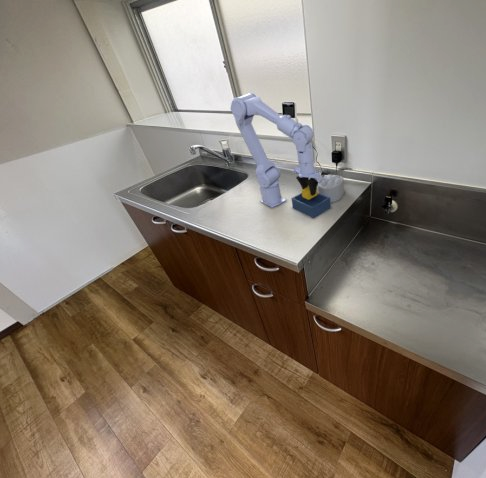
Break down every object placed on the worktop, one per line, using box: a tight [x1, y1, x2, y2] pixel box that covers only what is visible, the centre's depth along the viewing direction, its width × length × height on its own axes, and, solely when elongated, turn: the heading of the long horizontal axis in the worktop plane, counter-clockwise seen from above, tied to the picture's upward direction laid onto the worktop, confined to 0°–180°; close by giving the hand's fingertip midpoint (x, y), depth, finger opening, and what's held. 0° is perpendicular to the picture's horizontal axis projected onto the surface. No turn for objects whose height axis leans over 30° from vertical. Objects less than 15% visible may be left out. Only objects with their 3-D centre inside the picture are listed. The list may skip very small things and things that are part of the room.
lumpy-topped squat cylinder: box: [317, 174, 345, 204], centre depth 111 cm, size 10×13×9 cm
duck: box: [300, 186, 319, 200], centre depth 102 cm, size 4×6×6 cm
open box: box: [291, 192, 332, 219], centre depth 106 cm, size 13×10×5 cm
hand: (309, 192), depth 103 cm, fingers closed on duck, 4 cm apart
